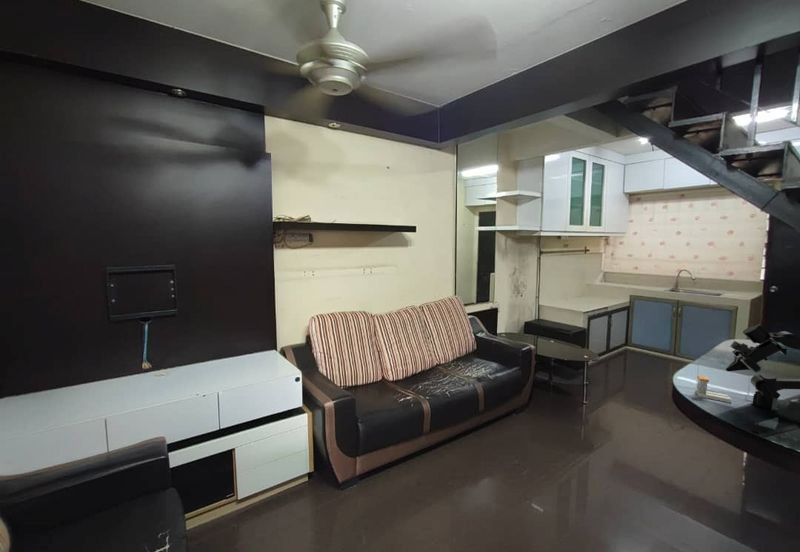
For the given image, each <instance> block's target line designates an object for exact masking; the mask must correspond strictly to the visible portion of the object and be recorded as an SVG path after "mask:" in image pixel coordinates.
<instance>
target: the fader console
mask: <svg viewBox="0 0 800 552" xmlns="http://www.w3.org/2000/svg"><path fill="white" fill-rule="evenodd" d="M695 393H696V394H697V396H698V398H699V397H700V398H705V399H711V400H715V401H721V402H725V403H732V400H733V399H732V398H731V397H730V396H729V395H728V394H725V393H720V392H714V391H709V390H706V393H701V392H699V391H698V390H697V388H695Z"/></svg>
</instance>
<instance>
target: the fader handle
mask: <svg viewBox="0 0 800 552" xmlns="http://www.w3.org/2000/svg"><path fill="white" fill-rule="evenodd" d="M696 378H697V384H696V389H697V390H698V391H699V392H701V393H706V391H708V390H707V388H708V383H709V381H710V379H709V378H708V377H707V376H704V375H699V374H697V376H696Z"/></svg>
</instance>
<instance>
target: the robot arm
mask: <svg viewBox="0 0 800 552" xmlns="http://www.w3.org/2000/svg"><path fill="white" fill-rule="evenodd" d="M742 334H743V336H745V337H746V338H748V339H749V341H751V342H752V343H753V344H758V345H756V346H749V345H748V344H745V343H744V342H742V343H740V342H738V341H736V340H734V341H733V342H732V343H731V344H730V346H729V347H731V348H732V349H733V350H732V351H731V353H732V354H733V357H734V359H733V361H732V362H731V363H730V364H729V365H728V366H727V367H726V368H725V370H726V372H737V371H750V370H752V371H753V372H754V373H757V374H756V375H753V376H752V377H751V379H750V383H751V385H752V386H753V387H754V388H755V390H756V391H755V392H754V394H753V397H752V403H751V404H750V405H751V406H754V407H757V408H759V409H762V410H764V411H768V412H772V411H778V410H779V408H778V407H777V404H778V401H779V398H780V397H781V394H780V393H779V391H781V390H782V391H783V390H800V378H777V377H776V376H774V375H773V374H772V373H766V374H762V373H758V372H760V371H761V369H762V368H761V366H760V365H759V364H758V363H760V362H763V361H768V360H769V359H768V358H769V357H770V358H771V357H772V356H774V355H776V354H779V353H781V354H783V355H785V356H787V351H788V348H790V349H793V350H797V351H800V337H799V336H797V335H796V334H793V333H791V332H788V331H786V330H785V331H779V332H768V331H766V330H765V328H764V327H763V326H762V325H761V324H756V325H752V326H750V327H746V328H745V329H744V330H743V331H742ZM773 341H774V342H773ZM781 345H782V346H784V347H782V346H781ZM787 347H788V348H787Z"/></svg>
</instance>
